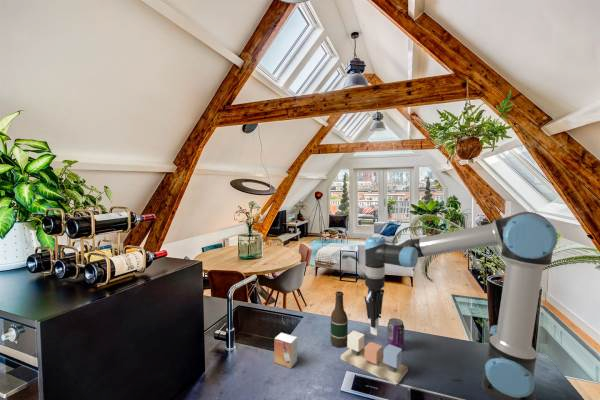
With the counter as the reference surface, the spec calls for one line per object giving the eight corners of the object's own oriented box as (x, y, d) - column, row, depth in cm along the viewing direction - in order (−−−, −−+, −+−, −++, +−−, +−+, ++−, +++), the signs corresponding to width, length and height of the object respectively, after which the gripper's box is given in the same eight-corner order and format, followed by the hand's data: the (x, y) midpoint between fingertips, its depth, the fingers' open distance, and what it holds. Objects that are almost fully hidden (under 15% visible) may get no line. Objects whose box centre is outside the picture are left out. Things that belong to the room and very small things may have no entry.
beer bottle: (328, 346, 128) (329, 294, 127) (332, 337, 135) (332, 288, 134) (346, 349, 126) (346, 296, 124) (348, 340, 133) (349, 290, 132)
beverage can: (405, 352, 123) (405, 326, 123) (388, 350, 125) (388, 324, 124) (402, 344, 130) (403, 318, 130) (386, 342, 132) (387, 317, 131)
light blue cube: (401, 361, 110) (402, 348, 110) (396, 368, 106) (396, 355, 106) (388, 356, 113) (389, 343, 113) (383, 362, 109) (383, 349, 109)
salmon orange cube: (382, 358, 115) (382, 346, 115) (376, 364, 111) (376, 351, 111) (370, 353, 119) (370, 341, 118) (364, 359, 115) (364, 346, 114)
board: (407, 370, 112) (408, 357, 111) (396, 385, 103) (397, 371, 103) (353, 347, 127) (354, 335, 127) (340, 359, 119) (340, 346, 118)
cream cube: (364, 346, 120) (364, 334, 120) (358, 351, 116) (358, 339, 116) (353, 342, 124) (353, 330, 123) (347, 347, 120) (347, 335, 120)
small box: (273, 363, 116) (273, 338, 115) (281, 355, 121) (281, 331, 120) (290, 369, 112) (290, 343, 112) (297, 361, 117) (297, 336, 117)
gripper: (373, 270, 121) (373, 324, 122) (358, 278, 111) (358, 337, 112) (390, 274, 116) (390, 330, 117) (376, 282, 106) (375, 344, 107)
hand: (374, 333), depth 114 cm, fingers closed
